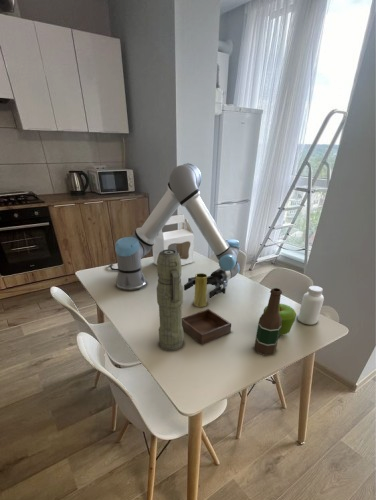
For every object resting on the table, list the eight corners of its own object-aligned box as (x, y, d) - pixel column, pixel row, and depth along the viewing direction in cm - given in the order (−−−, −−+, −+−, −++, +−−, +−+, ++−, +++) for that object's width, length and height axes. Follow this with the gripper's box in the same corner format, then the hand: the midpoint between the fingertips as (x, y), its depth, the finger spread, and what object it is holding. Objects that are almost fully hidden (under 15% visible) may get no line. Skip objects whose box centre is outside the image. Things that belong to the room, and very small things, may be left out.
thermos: (168, 355, 102) (165, 259, 83) (153, 339, 110) (147, 249, 91) (189, 348, 106) (191, 254, 86) (173, 333, 114) (171, 244, 95)
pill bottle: (294, 320, 123) (302, 288, 115) (302, 313, 128) (310, 282, 120) (312, 327, 119) (322, 294, 110) (320, 320, 124) (329, 288, 115)
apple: (279, 343, 109) (285, 318, 103) (253, 330, 116) (257, 305, 110) (297, 332, 116) (304, 307, 109) (272, 320, 123) (276, 296, 117)
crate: (180, 327, 118) (180, 318, 115) (207, 317, 125) (208, 308, 123) (201, 344, 108) (202, 335, 106) (230, 332, 115) (231, 323, 113)
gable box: (181, 256, 191) (181, 211, 175) (193, 262, 182) (194, 215, 166) (152, 263, 180) (150, 216, 164) (164, 269, 171) (162, 220, 155)
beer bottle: (276, 357, 102) (290, 296, 89) (254, 354, 103) (264, 293, 90) (275, 344, 108) (288, 285, 95) (254, 342, 110) (264, 283, 96)
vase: (191, 302, 136) (192, 273, 128) (203, 300, 138) (204, 272, 130) (197, 308, 132) (197, 278, 124) (208, 305, 134) (210, 276, 126)
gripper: (242, 289, 139) (220, 306, 125) (199, 277, 151) (174, 292, 137) (243, 275, 135) (222, 290, 121) (199, 264, 147) (174, 277, 132)
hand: (196, 291), depth 129 cm, fingers open, 13 cm apart
